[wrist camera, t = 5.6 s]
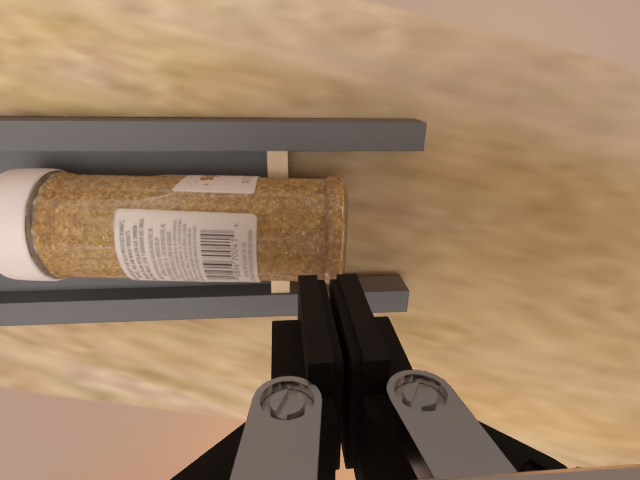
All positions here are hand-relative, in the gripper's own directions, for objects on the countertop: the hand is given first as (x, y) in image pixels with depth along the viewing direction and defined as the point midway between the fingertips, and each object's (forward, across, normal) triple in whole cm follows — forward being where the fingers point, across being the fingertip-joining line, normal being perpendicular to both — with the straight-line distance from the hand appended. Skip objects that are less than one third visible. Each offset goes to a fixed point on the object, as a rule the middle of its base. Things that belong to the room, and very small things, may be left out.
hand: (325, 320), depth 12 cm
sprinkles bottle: (+6, -2, 0) cm, 6 cm away
